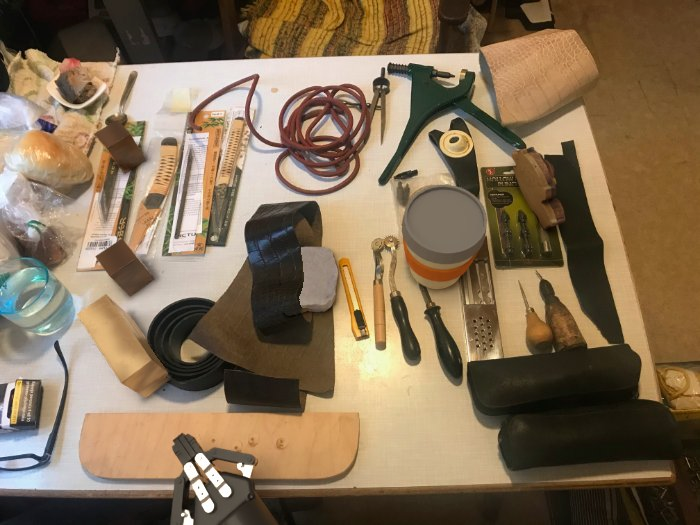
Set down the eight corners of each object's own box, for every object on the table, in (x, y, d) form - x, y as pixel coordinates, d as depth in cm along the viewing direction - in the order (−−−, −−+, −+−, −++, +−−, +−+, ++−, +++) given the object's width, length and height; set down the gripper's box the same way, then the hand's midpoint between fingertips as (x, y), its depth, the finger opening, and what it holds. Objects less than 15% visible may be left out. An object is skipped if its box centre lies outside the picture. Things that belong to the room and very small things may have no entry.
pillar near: (131, 297, 88) (109, 276, 81) (117, 278, 90) (94, 256, 83) (156, 279, 89) (136, 257, 82) (141, 261, 91) (122, 238, 84)
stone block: (332, 255, 92) (276, 256, 90) (336, 242, 88) (277, 243, 86) (339, 317, 86) (279, 319, 85) (342, 306, 82) (280, 308, 80)
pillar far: (125, 175, 101) (106, 148, 94) (113, 161, 103) (94, 133, 96) (147, 161, 102) (130, 133, 95) (135, 147, 104) (117, 119, 97)
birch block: (146, 398, 79) (120, 383, 71) (104, 335, 85) (76, 314, 77) (174, 377, 81) (151, 359, 73) (131, 316, 86) (105, 294, 78)
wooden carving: (567, 232, 90) (587, 198, 81) (543, 240, 89) (561, 207, 80) (520, 163, 97) (534, 126, 88) (498, 171, 97) (510, 134, 88)
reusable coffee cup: (394, 238, 91) (396, 187, 78) (464, 231, 91) (479, 178, 78) (404, 303, 85) (408, 259, 72) (479, 295, 85) (498, 250, 71)
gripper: (294, 508, 60) (212, 396, 66) (200, 596, 56) (122, 469, 63) (303, 511, 66) (227, 409, 73) (218, 590, 62) (147, 476, 69)
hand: (179, 437), depth 68 cm, fingers closed
